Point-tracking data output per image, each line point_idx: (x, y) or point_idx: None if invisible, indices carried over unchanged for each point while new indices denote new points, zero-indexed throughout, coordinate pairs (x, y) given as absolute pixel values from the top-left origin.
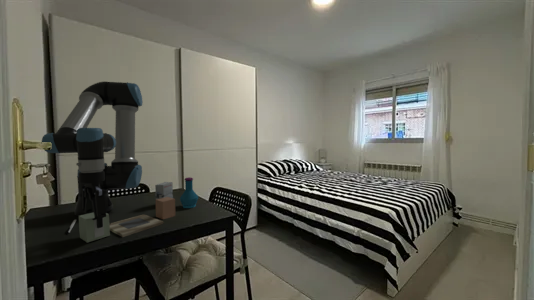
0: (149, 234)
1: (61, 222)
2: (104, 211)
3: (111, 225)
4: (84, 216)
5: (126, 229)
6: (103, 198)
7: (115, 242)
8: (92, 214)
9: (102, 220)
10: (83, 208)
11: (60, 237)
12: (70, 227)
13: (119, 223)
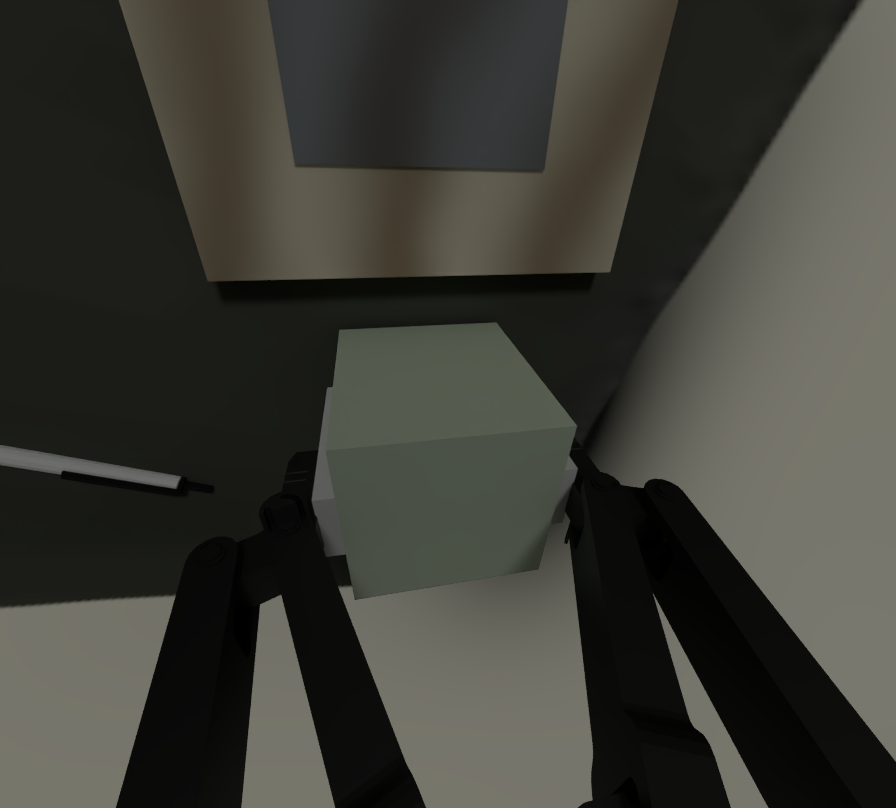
0: (776, 75)
1: None
2: (705, 537)
3: (286, 235)
4: (425, 572)
5: (538, 190)
6: (860, 735)
7: (624, 334)
8: (420, 527)
9: (594, 465)
10: (256, 625)
11: (239, 511)
12: (39, 467)
13: (276, 137)
